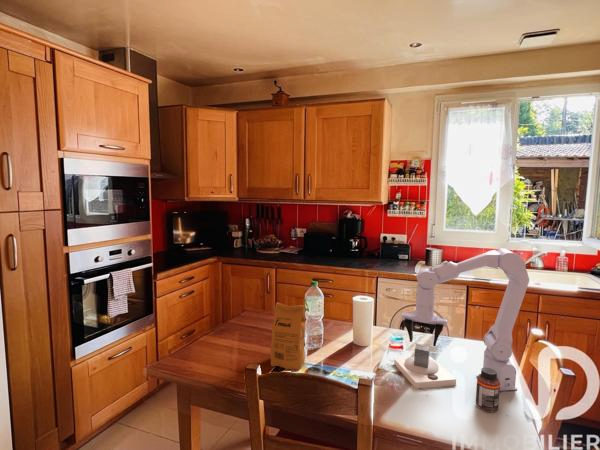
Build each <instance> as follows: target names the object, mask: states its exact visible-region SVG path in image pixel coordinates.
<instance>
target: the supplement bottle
mask: <svg viewBox="0 0 600 450" xmlns="http://www.w3.org/2000/svg"><path fill="white" fill-rule="evenodd" d="M477 375H478V377H477V376H476V389H475V390H476V392H475V393H476V394H475V405H476V407H477V408H478V409H480V410H482V411H484V412H488V413H496V412H497V411H498V410H499V407H500V406H499V403H500V393H501V391H500V380H499V379H498V378H497V371H496V370H494V369H492V368H489V367H483V366H482V368H481V370H480V373H479V374H477Z"/></svg>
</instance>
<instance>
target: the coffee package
mask: <svg viewBox="0 0 600 450" xmlns="http://www.w3.org/2000/svg"><path fill="white" fill-rule="evenodd" d="M305 318H306V315H305V305H304V304H303V305H302V304H300V305H286V304H283V303H281V302H278V301H277V302H275V308H274V313H273V320H272V321H273V323H272V327H271V345H270V366H271V367H274V366H279V368H282V367H283V368H285V369H284V370H287V369H291V370H295V371H296V370H297V371H299V370H301V368H302V367H303V366H304V364H305V359H306V355H305V342H306V341H305V339H306V338H305V337H306V319H305ZM283 368H282V369H283ZM291 370H290V371H291Z"/></svg>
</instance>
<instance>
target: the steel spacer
mask: <svg viewBox="0 0 600 450" xmlns="http://www.w3.org/2000/svg"><path fill="white" fill-rule="evenodd" d="M430 348H431V346H430V345H427V344H421V343H416V344H415V347H414V356H413V357H414V366H419V367H424V368H428V365H429V356H430V353H431V352H430V350H431V349H430Z"/></svg>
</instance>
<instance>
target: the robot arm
mask: <svg viewBox="0 0 600 450" xmlns="http://www.w3.org/2000/svg"><path fill="white" fill-rule="evenodd" d="M526 265H527V263H526V261H524V259H523V258H522V257H521V256H520V255H519V253H516V252H514V251H512V250H511V249H509V248H505V247H501V248H498V249H491V250H489V251H486V252H484V253H481V254H478V255H475V256H473V257H470V258H467V259H465V260H461V261H459V262H453V261H452V260H451V261H447V260H445V261H442V263H441V264H437V265H435V266H431V265H430V266H428V268H422V269H420V270H419V271H418V272H417V274H416V275H415V277H416V280H417V286H416V292H415V293H416V296H415V313H407V312H402V313H401V320H402V321H404V327H405V328H406V330H407V334H408V337H409V342H410V343H413V338H414V337H413V336H414V335H413V333H414V332H413V331H414V330H413V328H414V322H418V323H424V324H430V325H434V338H433V345H432V346H433V347H436V345H437V340H438V339H439V337H440V335H441V334H442V331H443V329H444V328H448V327H447V326H448V319H445V318H441V317H437V316H434V307H435V305H434V303H435V287H436V286H437V285H438V284H439V285H440V284H442V283H445V282H448V281H452V280H455V279H457V278H458V277H459V276H460V274H461V273H465V272H469V271H473V270H475V269H481V268H484V267H489V268H493V269H496V270H498V269H501V270H502V271H503V273H504V274H505V276H506V277H507V278H508V282H507V286H506V289H505V291H504V293H503V294H504V295H503V297H502V301H501V304H500V306H499V309H498V311H497V312H498V313H497V314H496V315H497V316H496V318H495V322H494V324H492V325H491V326H490V328H489V330H488V332H486V333H485V334H484V336H483V343H484V346H486V348H485V350H484V353H483V365H482V368H483V367H489V368H492V369H494V370H496V371H497V378H498V379H499V380H500V392H504V391H513V390H514V391H515V390H518V387H517V386H516V381H517V380H516V379H517V370H516V367H515V366H514V365H513V364H512V363H511V361H510V358H511V357H512V355H513V349H512V345H513V329H514V326H515V323H516V320H517V318H518V315H519V312H520V308H521V306H522V303H523V300H524V298H525V294H526V291H527V289H528V286H529V283H530V276H529V273H528V271H527V267H526ZM478 375H479V374H476V378H477V377H478Z"/></svg>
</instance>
